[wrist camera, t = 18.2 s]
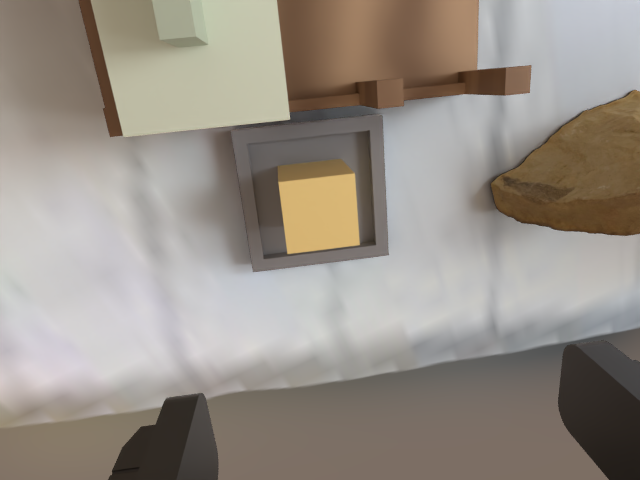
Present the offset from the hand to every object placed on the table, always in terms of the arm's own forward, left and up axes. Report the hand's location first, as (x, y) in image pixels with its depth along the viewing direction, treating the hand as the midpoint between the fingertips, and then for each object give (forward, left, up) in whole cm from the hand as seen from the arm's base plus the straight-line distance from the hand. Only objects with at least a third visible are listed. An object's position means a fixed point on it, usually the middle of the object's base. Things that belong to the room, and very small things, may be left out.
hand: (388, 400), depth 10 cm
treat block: (0, 0, -20) cm, 20 cm away
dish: (0, 0, -20) cm, 20 cm away
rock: (-17, -1, -21) cm, 27 cm away
